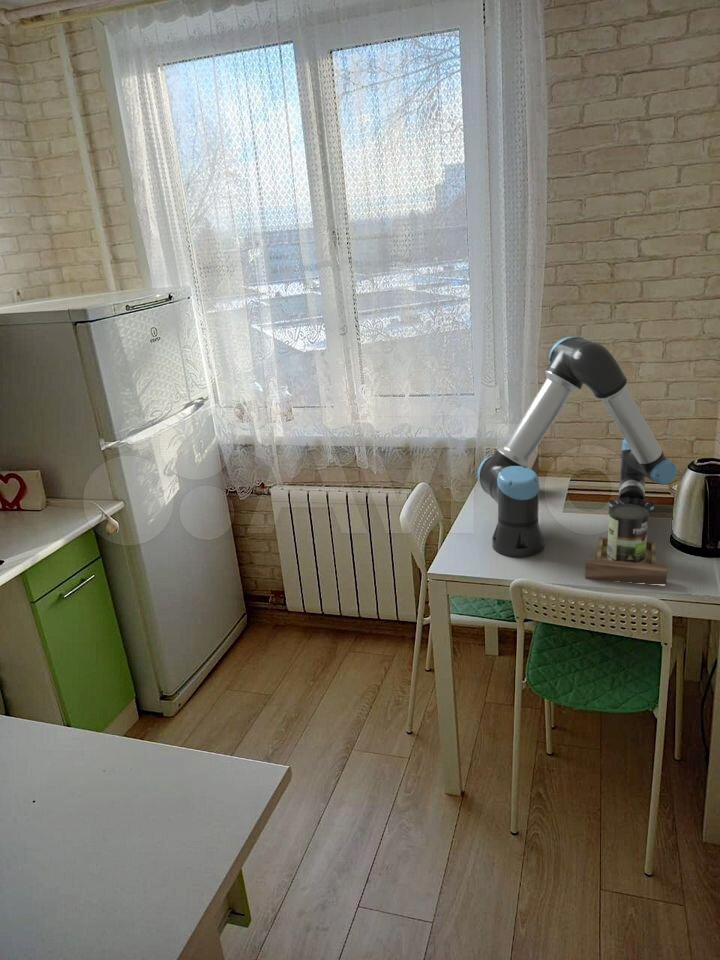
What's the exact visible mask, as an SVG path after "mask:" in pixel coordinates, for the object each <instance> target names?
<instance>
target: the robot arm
mask: <svg viewBox="0 0 720 960" xmlns="http://www.w3.org/2000/svg"><path fill="white" fill-rule="evenodd" d="M548 360H549V364H548V366H547V367H546V370H545V371H544V372H545V377H546V379H545V380H544V381H543V384H542V385H541V387H540V388H539V390H538V391H537V394H536V395H535V397H534V399H532V402H531V403H530V405H529V406H528V408H527V410H526V411H525V413H524V415H523V416H522V417H521V419H520V420H519V422H518V424H517V425H516V428H515V429H514V431H513V432H512V433H511V435H510V437H509V439H508V440H507V442H506V443H505V445H504V446H502V447H497V449H495V452H494V454H493V455H490V456H488V457H485V458H484V460H482V462H481V463H480V464H479V467H478V469H477V480H478V483H479V485H480V486H481V489H482V490H483V491H484V492H485V493H486V494H488V495H489V496H490V497H491V498H492V499H493V500H494V501H495V502H496V503H497V523H496V527H495V529H494V532H493V534H492V538H491V539H492V541H491V543H492V545H491V546H492V548H493V549H494V551H496V552H497V553H499V554H501V555H504V556H509V557H514V558H515V557H516V558H523V557H524V558H525V557H530V556H534V555H538V554H539V553H541V552H542V551H543V550H544V548H545V539H544V538H545V537H544V536H543V533H542V530H541V527H540V524H539V506H540V505H539V502H540V501H539V498H540V496H539V495H540V481H539V475H538V476H537V474H536V473H535V472H534V471H533V470H531V469H530V465H529V460H530V458H531V457H532V455H533V453H534V452H536V450H537V448H538V447H539V445H540V443H541V442H542V441H543V439H544V437H545V436H546V435H547V433H548V431H549V430H550V428H551V427H552V425H553V423H554V422H555V420H556V418H557V417H558V415H559V414H560V412H561V410H562V409H563V407H564V406H565V405H566V403H567V401H568V400H569V398H570V396H571V395H572V393H575V392H576V393H577V392H579V391H581V389H582V387H583V385H585V386H586V387H587V388H588V389H590V391H591V392H592V393H593V395H594V397H595V398H596V399H597V400H601V402H602V403H603V405H604V407H605V408H606V410H607V412H608V413H609V415H610V417H611V418H612V420H613V421H614V423H615V425H616V427H617V429H618V430H619V432H620V434H621V435H622V437H623V440H622V445H621V449H620V450H621V451H620V452H621V455H620V456H621V457H620V459H621V461H620V462H621V463H620V471H619V472H620V475H619V477H620V478H619V489H618V498H617V499H616V500H614V499H609V500H608V501H609V502H608V504H609V505H608V508H609V509H610V508H611V507H612V506H615V505H620V504H631V505H637V506H641V507H644V508H646V509H647V510H648V511H649V515H650V514H651V513H652V512H654V511H655V503H654V502H649V503H648V502H647V500H645V499H646V498H645V495H646V492H645V489H646V488H645V487H646V478H647V479H649V480H650V481H652V482H653V483H656V484H658V485H663V486H664V485H665V486H666V485H669V484H670V483H672V482H673V481H674V480H675V479H676V477H677V475H678V466H677V465H676V464H675V462H673V461H672V460H671V459H668V458H667V456H666V455H665V453H664V451H663V449H662V447H661V446H660V444H659V443H658V441H657V439H656V437H655V436H654V433H653V432H652V430H651V428H650V426H649V424H648V423H647V421H646V419H645V418H644V416H643V414H642V412H641V410H640V408H639V407H638V405H637V403H636V402H635V399H634V397H633V396H632V394H631V392H630V391H629V389H628V387H627V385H628V379H627V377H626V375H625V373H624V371H623V370H622V368H621V367H620V364H619V363H618V362H617V360H616V359H615V357H614V356H613V354H612V352H610V350H609V349H608V348H606V347H605V346H604V345H603V344H600V343H597V342H594V341H592V340H589V339H586V338H583V337H579V336H567V337H564V338H561V339H559V340H558V341H557V342H555V343H554V345H553V346H552V348H551V350H550V351H549V354H548Z"/></svg>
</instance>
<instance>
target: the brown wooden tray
mask: <svg viewBox="0 0 720 960" xmlns="http://www.w3.org/2000/svg"><path fill="white" fill-rule="evenodd" d="M598 538H599V539H598V547H597V554H596V559H601V560H609V559H608V558H607V545H608V537H598ZM656 551H657V549H656V541H651V540H650V541H648V540H647V542H646V556H645V558H646V559H645V561H644V562H643V564H654V565H657V562H656V560H657V559H656V558H657V557H656ZM611 561H612V560H611Z"/></svg>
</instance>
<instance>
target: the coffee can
mask: <svg viewBox="0 0 720 960" xmlns="http://www.w3.org/2000/svg"><path fill="white" fill-rule="evenodd" d="M649 516H650V514H649V511H648V510H647V509H646V508H644V507H641V506H637V505H631V504H620V505H615V506H612V507H611V508H609V509H608V528H607V529H608V531H607V538H608V545H607V558H608V559H609V560H612V561H622V562H633V563H643V562H644V561H645V559H646V558H645V556H646V542H647V541H648V540H647V538H648V525H649V524H648V523H649Z"/></svg>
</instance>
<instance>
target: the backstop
mask: <svg viewBox="0 0 720 960" xmlns="http://www.w3.org/2000/svg"><path fill="white" fill-rule="evenodd" d="M584 567H585V569H584V570H585V571H584V572H585V573H584V579H586V580H595V581H604V582H613V581H620V582H619V583H622V582H632V583H645V584H666V585H667V576H668V565H664V564H656V565H654V564H643V563H633V562H622V561H611V560H601V559H597V558H588V557H586V560H585V566H584ZM632 583H631V584H632Z"/></svg>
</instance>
